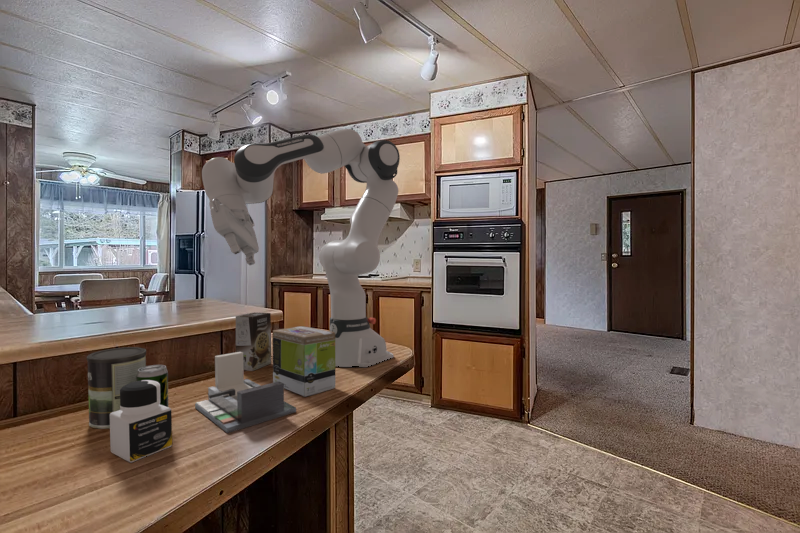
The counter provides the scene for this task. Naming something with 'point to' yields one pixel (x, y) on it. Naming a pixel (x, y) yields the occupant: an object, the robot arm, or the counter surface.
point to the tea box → (304, 359)
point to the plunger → (229, 375)
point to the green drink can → (156, 379)
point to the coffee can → (110, 380)
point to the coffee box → (254, 339)
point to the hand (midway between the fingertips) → (244, 258)
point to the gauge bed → (246, 406)
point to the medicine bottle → (140, 422)
